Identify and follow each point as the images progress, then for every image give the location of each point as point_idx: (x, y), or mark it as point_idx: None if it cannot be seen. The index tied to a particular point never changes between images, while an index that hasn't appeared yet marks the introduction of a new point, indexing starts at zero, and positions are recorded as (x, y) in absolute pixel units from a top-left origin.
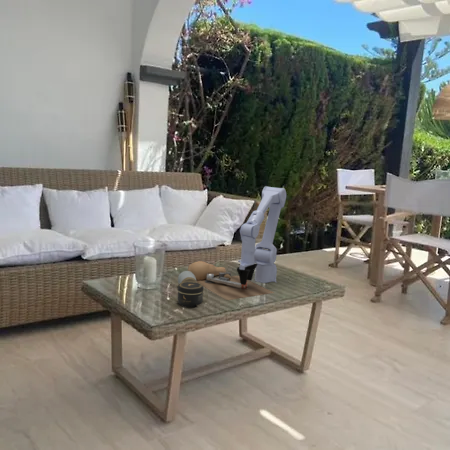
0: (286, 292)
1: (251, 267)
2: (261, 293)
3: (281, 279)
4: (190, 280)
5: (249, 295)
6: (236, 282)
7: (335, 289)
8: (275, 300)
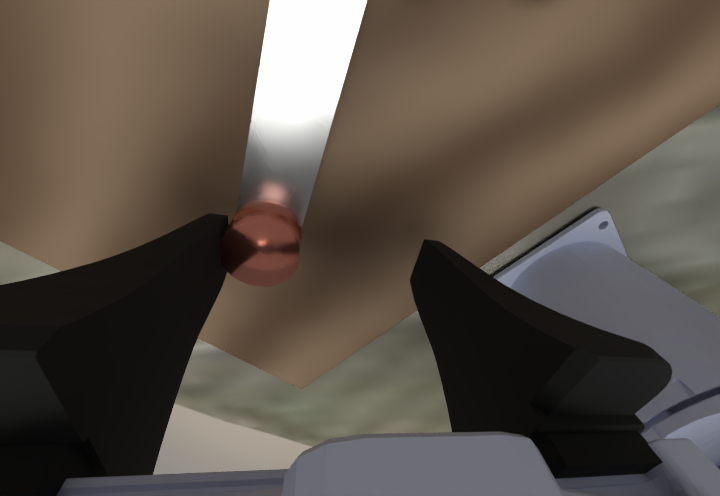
0: (375, 404)
1: (474, 413)
2: (240, 338)
3: None
4: None
5: None
6: (327, 130)
7: None
8: (204, 391)
